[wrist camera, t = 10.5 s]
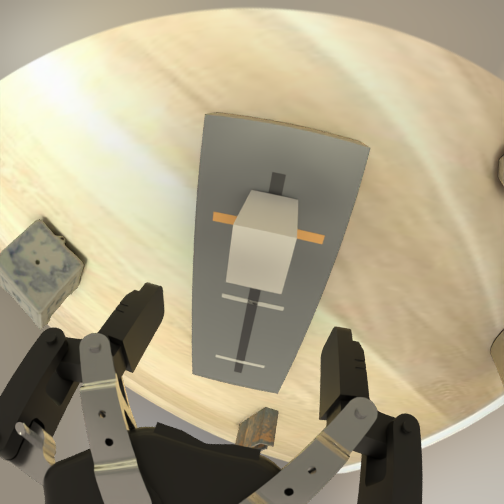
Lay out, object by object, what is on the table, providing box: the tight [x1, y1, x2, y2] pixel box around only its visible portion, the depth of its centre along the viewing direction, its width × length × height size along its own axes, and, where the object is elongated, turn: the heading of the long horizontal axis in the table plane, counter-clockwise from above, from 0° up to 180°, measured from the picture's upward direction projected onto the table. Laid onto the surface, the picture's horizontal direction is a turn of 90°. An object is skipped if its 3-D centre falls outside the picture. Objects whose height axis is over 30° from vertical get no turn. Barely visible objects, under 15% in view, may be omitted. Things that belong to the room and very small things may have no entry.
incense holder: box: [0, 219, 84, 329], centre depth 28 cm, size 10×8×10 cm
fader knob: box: [226, 190, 298, 294], centre depth 18 cm, size 4×4×6 cm
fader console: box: [192, 112, 370, 394], centre depth 27 cm, size 32×12×3 cm, turn 171°
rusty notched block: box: [235, 407, 278, 451], centre depth 42 cm, size 11×3×10 cm, turn 154°
